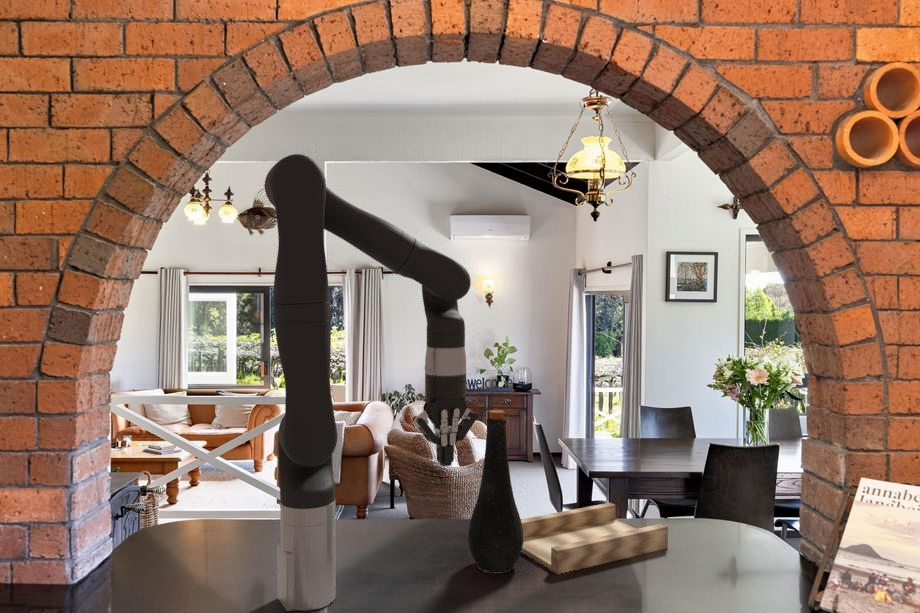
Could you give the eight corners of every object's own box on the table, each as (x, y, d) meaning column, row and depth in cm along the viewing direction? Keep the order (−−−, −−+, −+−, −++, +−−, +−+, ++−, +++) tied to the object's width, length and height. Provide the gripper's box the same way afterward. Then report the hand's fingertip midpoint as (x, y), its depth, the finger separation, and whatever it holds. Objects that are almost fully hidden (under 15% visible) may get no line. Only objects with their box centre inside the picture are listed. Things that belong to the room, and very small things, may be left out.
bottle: (511, 581, 134) (512, 418, 133) (459, 571, 138) (459, 413, 137) (530, 560, 143) (532, 408, 142) (481, 552, 148) (481, 404, 147)
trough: (557, 574, 137) (557, 551, 137) (505, 543, 153) (505, 522, 152) (667, 548, 150) (668, 526, 150) (609, 522, 166) (609, 502, 166)
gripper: (422, 376, 127) (421, 474, 128) (487, 371, 134) (486, 465, 135) (404, 371, 134) (404, 464, 135) (466, 366, 140) (466, 456, 141)
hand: (445, 464), depth 135 cm, fingers closed
